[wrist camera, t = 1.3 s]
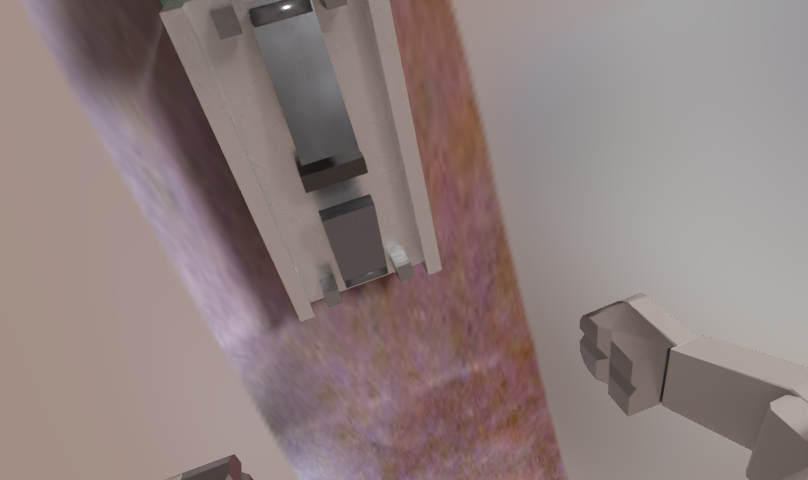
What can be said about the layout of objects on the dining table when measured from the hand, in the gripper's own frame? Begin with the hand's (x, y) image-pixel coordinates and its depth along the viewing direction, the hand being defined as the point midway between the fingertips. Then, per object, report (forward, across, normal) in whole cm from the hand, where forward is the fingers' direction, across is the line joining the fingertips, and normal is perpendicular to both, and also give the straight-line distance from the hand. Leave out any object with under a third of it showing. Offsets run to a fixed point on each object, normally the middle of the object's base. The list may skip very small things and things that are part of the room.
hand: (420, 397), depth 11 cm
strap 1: (+18, -1, -3) cm, 18 cm away
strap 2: (+18, -1, +7) cm, 20 cm away
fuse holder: (+24, -1, +2) cm, 24 cm away
